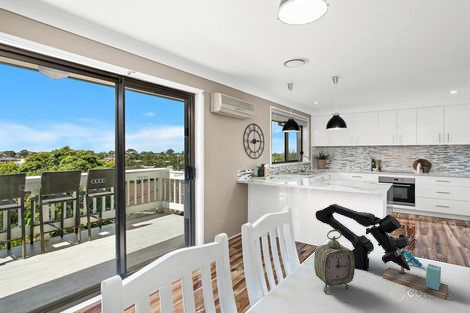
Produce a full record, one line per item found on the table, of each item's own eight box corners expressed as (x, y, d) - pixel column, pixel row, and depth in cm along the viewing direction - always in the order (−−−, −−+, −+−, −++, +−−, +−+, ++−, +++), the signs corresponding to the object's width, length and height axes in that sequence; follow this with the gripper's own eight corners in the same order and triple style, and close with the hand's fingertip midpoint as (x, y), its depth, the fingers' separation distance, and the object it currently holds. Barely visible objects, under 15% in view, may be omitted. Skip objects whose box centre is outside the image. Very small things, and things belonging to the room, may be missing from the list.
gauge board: (382, 278, 114) (382, 267, 114) (389, 270, 121) (389, 260, 121) (445, 299, 99) (445, 287, 98) (448, 289, 106) (448, 278, 105)
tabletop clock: (324, 296, 100) (325, 234, 99) (311, 284, 109) (312, 227, 108) (354, 290, 104) (356, 231, 103) (339, 279, 113) (341, 224, 112)
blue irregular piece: (427, 267, 122) (411, 251, 123) (418, 275, 122) (402, 259, 124) (414, 260, 133) (399, 245, 134) (406, 268, 133) (391, 253, 134)
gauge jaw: (425, 286, 103) (426, 267, 103) (429, 280, 108) (429, 261, 108) (438, 290, 100) (439, 271, 100) (441, 283, 106) (441, 265, 105)
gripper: (391, 234, 106) (422, 269, 99) (402, 224, 119) (430, 255, 112) (370, 246, 112) (397, 280, 105) (383, 236, 125) (408, 266, 118)
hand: (409, 269), depth 109 cm, fingers closed
